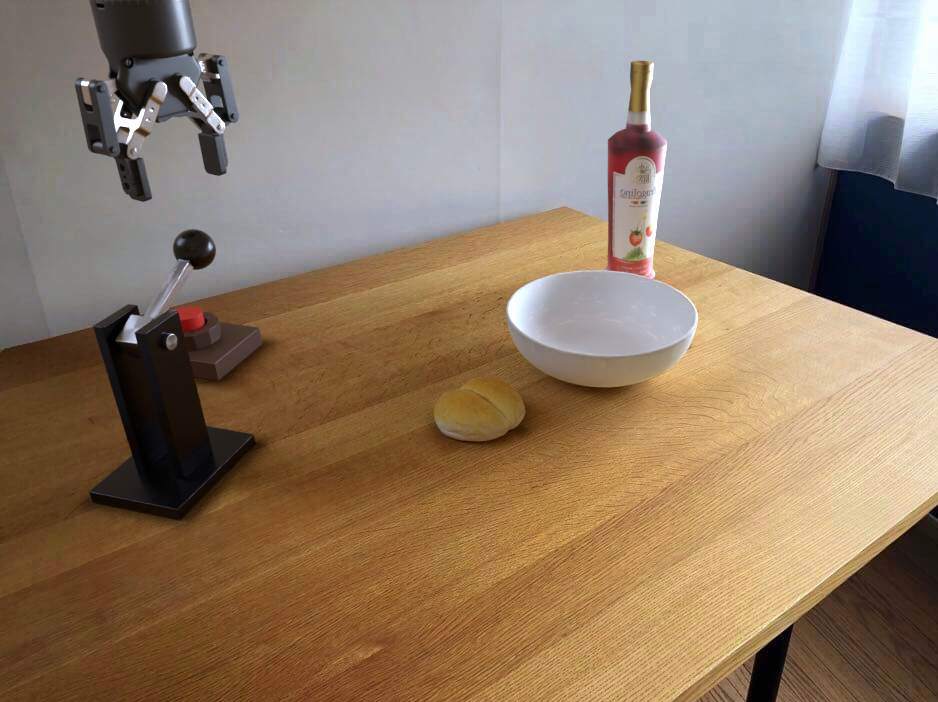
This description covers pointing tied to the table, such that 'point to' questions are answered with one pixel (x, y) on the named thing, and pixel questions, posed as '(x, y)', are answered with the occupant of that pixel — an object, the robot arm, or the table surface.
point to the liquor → (635, 181)
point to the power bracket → (161, 422)
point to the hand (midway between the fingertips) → (180, 186)
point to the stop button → (191, 318)
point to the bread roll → (479, 410)
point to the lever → (170, 283)
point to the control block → (219, 346)
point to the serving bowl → (601, 326)
